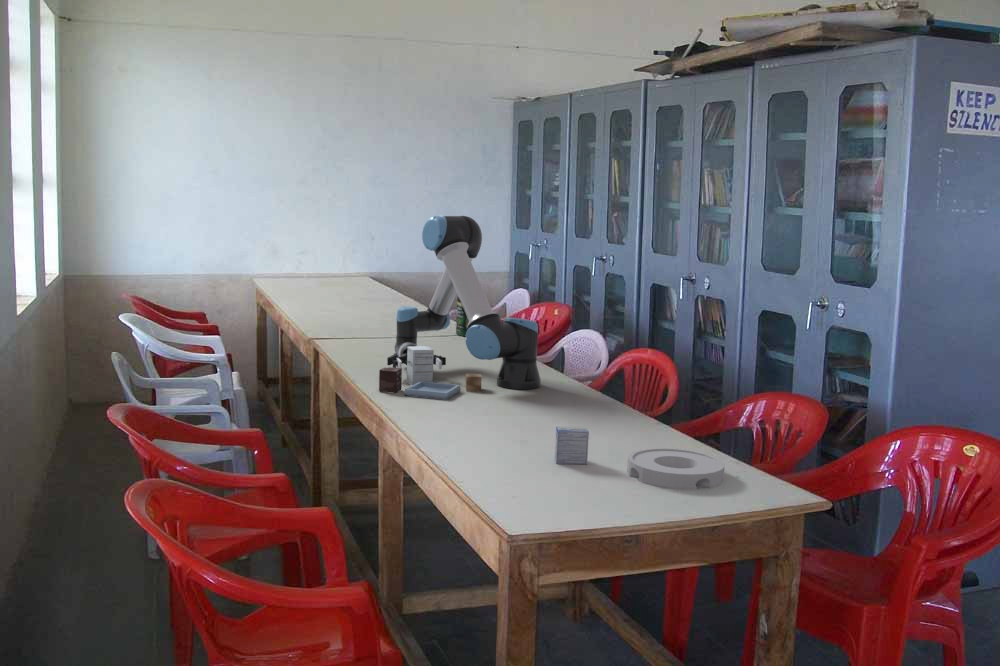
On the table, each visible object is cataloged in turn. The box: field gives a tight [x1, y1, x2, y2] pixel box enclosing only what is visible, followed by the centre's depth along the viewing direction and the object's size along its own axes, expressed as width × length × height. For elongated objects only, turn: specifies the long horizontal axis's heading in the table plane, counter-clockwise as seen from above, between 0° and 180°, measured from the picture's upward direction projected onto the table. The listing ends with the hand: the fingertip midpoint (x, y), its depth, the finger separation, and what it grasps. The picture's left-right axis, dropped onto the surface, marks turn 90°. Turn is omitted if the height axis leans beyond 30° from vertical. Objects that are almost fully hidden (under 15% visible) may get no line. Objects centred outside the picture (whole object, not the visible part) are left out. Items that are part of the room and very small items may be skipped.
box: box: [378, 366, 403, 394], centre depth 322 cm, size 6×6×7 cm
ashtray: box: [626, 447, 725, 491], centre depth 240 cm, size 23×23×4 cm
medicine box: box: [554, 425, 590, 465], centre depth 247 cm, size 8×4×9 cm, turn 92°
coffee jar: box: [455, 296, 469, 337], centre depth 445 cm, size 10×8×19 cm
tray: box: [404, 381, 461, 401], centre depth 321 cm, size 14×14×2 cm
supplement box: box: [406, 345, 435, 386], centre depth 334 cm, size 7×7×13 cm
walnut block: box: [464, 373, 483, 392], centre depth 329 cm, size 5×5×5 cm
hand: (420, 365), depth 332 cm, fingers open, 13 cm apart
